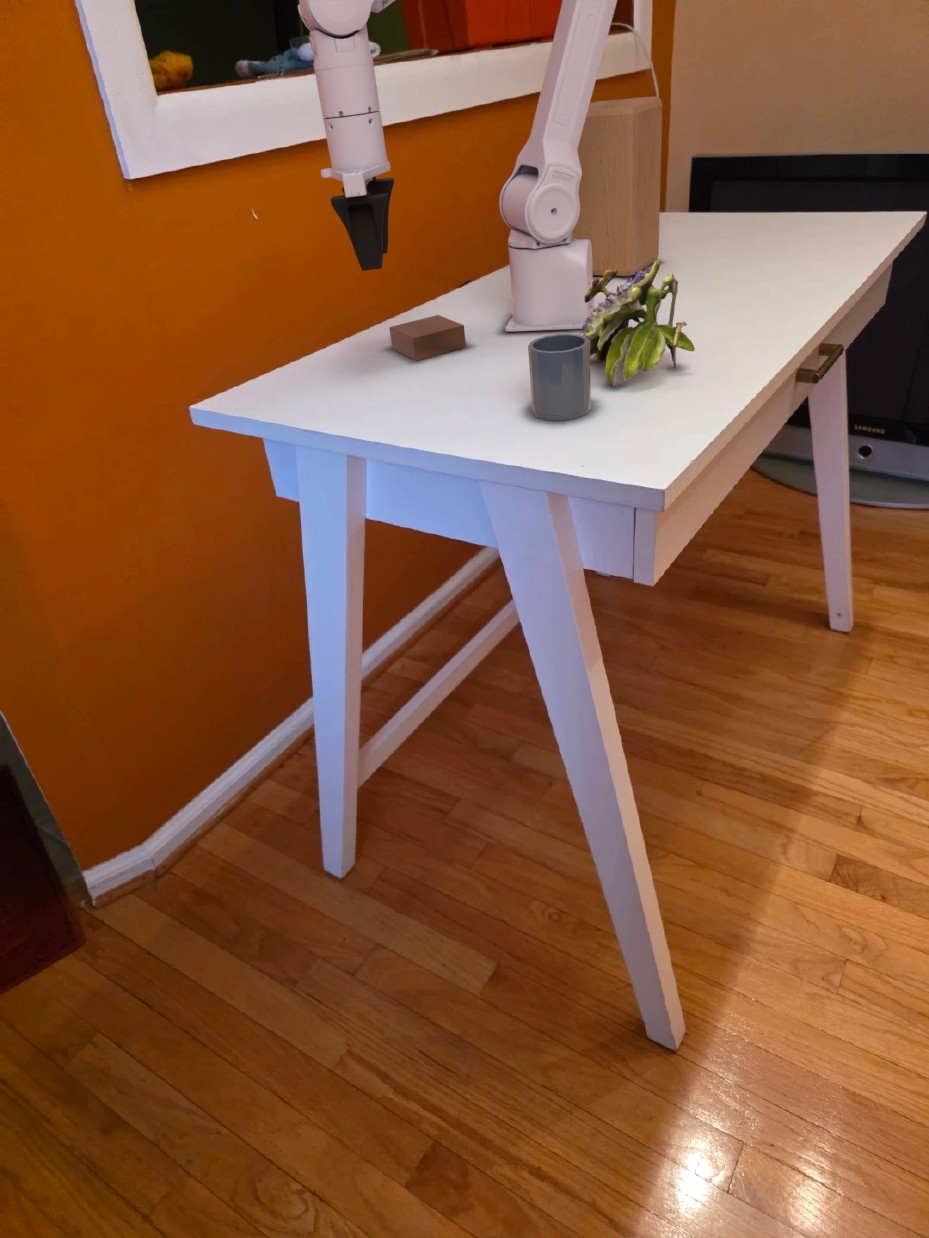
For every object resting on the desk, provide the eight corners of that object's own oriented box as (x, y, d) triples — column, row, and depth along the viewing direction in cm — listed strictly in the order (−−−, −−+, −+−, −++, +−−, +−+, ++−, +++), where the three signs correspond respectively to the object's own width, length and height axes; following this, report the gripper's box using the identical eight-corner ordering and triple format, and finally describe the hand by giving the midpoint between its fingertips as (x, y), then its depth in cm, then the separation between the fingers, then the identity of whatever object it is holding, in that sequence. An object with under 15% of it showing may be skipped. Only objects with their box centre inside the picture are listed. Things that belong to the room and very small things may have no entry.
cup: (593, 398, 75) (592, 332, 72) (587, 420, 71) (585, 351, 68) (537, 399, 76) (533, 335, 73) (528, 421, 72) (523, 353, 69)
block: (440, 336, 97) (438, 314, 95) (466, 347, 92) (464, 325, 91) (392, 349, 95) (388, 327, 93) (415, 361, 90) (412, 338, 89)
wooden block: (660, 260, 116) (665, 95, 105) (633, 278, 109) (634, 104, 98) (596, 259, 121) (594, 101, 109) (566, 276, 114) (560, 110, 103)
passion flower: (603, 413, 86) (603, 300, 86) (708, 399, 81) (708, 278, 81) (563, 385, 76) (562, 257, 76) (680, 366, 71) (679, 230, 71)
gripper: (322, 115, 87) (346, 252, 94) (300, 125, 75) (330, 281, 82) (387, 106, 86) (406, 244, 94) (376, 116, 74) (399, 273, 82)
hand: (375, 261), depth 88 cm, fingers open, 7 cm apart
